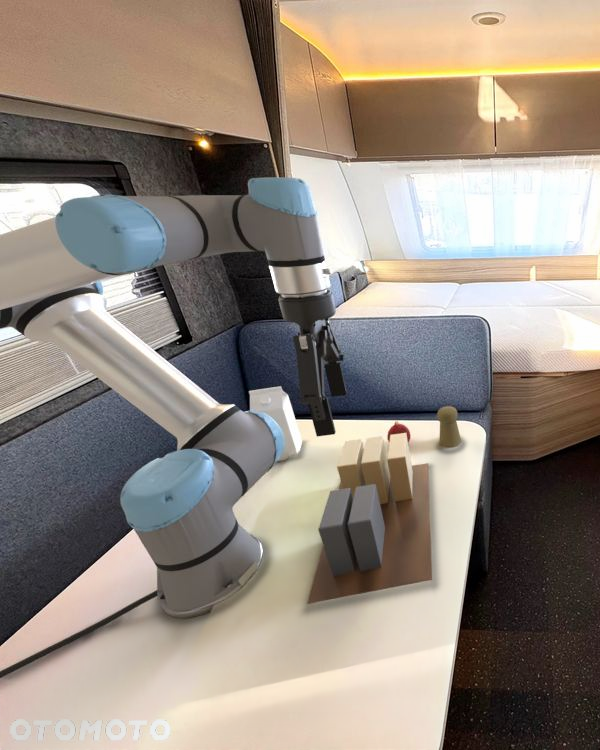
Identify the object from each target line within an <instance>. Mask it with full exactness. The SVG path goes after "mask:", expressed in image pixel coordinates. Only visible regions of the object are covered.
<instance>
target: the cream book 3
mask: <svg viewBox="0 0 600 750" xmlns="http://www.w3.org/2000/svg"><path fill="white" fill-rule="evenodd" d="M388 443H389V444H388V451H387V452H388V453H387V462H388V467H389V472H390V477H391V482H392V487H393V492H394V497H395V501H401V500H407V499H412V481H413V470H412V466H413V465H412V460H411V459H412V458H411V453H410V447H409V442H408V440H407V434H406V433H401V434H393V435H390V442H389V441H388Z"/></svg>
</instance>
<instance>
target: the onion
mask: <svg viewBox="0 0 600 750" xmlns="http://www.w3.org/2000/svg"><path fill="white" fill-rule="evenodd" d="M401 433H406V434H407V440H408V443H409V442H410V441H411V436H412V435H411V432H410V429H409V428H408V427H407V426H406V425H405V424H403V423H399V422H398V421H397V420H395V421H394V424H393V425H392V426H390V428H389V430H388V432H387V435H386V437H387V441H388V443H389V442H390V435H393V434H401Z"/></svg>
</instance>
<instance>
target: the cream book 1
mask: <svg viewBox="0 0 600 750" xmlns="http://www.w3.org/2000/svg"><path fill="white" fill-rule="evenodd" d="M364 448H365V446H364V442H363V439H362V438H358V439H351V440H345V441H344V445H343V448H342V451H341V454H340V458H339V461H338V464H337V465H336V466H337V467H336V469H337V473H338V475H339V479H340V483H342V487H343V489H346V488H350V489H351V493H352V497H353V499H354V494H355V489H356V487H359V486H365V485H366V484H365V480H364V475H363V471H362V467H361V462H362V457H363V452H364Z"/></svg>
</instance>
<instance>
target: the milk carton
mask: <svg viewBox="0 0 600 750" xmlns="http://www.w3.org/2000/svg"><path fill="white" fill-rule="evenodd" d="M248 394H249V411H251V410H254V411H257V412H263V413H265V414H267V415H269V416H270V417H271V418H273V419H274V420H275V421H276V423H277V424H278V425H279V427H280V428H281V430H282V432H283V435H284V443H285V447H284V451H283V453H282V455H281V457H280V458H279V459H278V460H277V461H276V462H279V461H280V462H281V461H285V460H288V459H289V457H290V456H293V455H298V454H299V452H301V448H302V444H303V440H302V437H301V433H300V429H299V426H298V423H297V420H296V417H295V416H296V415H295V414H294V410H293V406H292V403H291V400H290V397H289V393H287V392H285V391H284V390H283V388H282V386H281V385H280V386H274V387H267V388H260V389H255V390H254V389H253V390H249V391H248Z"/></svg>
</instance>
